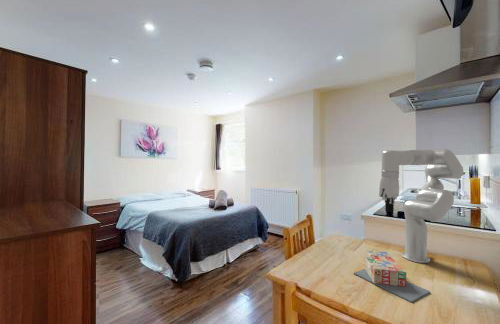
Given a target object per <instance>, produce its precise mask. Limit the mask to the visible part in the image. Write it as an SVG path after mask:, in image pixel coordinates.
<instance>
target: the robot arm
mask: <svg viewBox="0 0 500 324" xmlns="http://www.w3.org/2000/svg"><path fill="white" fill-rule="evenodd" d="M400 166H425V168H424V169H425V170H424V174H425V183H424V185H423V186H422V187H421V188H420V189H419V190H418V192H417V193H416V197H415V199H408V200H406V201H405V202H404V204H403V212H404V217H405V218H404V219H405V228H404V229H405V233H404V234H405V236H404V238H405V240H404V251H403V252H401V257H403V258H404V259H405V260H407V261H411V262H414V263H419V264H428V263H430V262H431V258H430V257H429V256H428V253H429V252H430V251H429V249H428V225H427V224H426V221H428V222H429V221H430V222H441V221H442V220H443V219H444V218H445V216H446V215H447V214H448V212H449V211H450V210H451V208H452V207H453V205H454V202H455V196H454V194H453V193H452V191H450V190H448V189H445V186H444V184H443V183H442V181H441V180H440V179H455V180H456V179H460V178H462V177H463V175H464V167H463V165H462V163H461V162H460V161H459V159H458V157H457V156H456V155H455V153H454V152H453V151H451V150H450V149H447V148H445V149H444V148H441V149H439V148H438V149H435V148H434V149H409V150H395V149H393V150H387V149H386V150H383V151H382V152H381V176H380V182H379V188H378V189H379V191H378V197H380V198H382V199H381V200H382V201H384V204H385V205H384V206H385V208H384V209H385V212H388V213H389V212H390V213H393V212H395V211H394V210H395V209H394V207H395V206H394V205H395V200H397V198H398V197H399V196H400V182H399V181H400V180H399V178H400ZM425 220H426V221H425Z"/></svg>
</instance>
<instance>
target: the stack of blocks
mask: <svg viewBox="0 0 500 324" xmlns="http://www.w3.org/2000/svg"><path fill="white" fill-rule="evenodd" d="M364 260H365V261H364V262H365V267H364V269H365V270H366V272H367V273H368V275H369V276H370V278H371V279H372V281H373V282H374V283H378V284H385V285H395V286H403V287H406V281H407V272H406V270H405V269H404V268H403V267H402V266H401V265H400V264H399V263H398V262H396V260H395V259H394V258H392V256H391V255H390V254H389V253H388V252H387V251H377V250H373V251H372V250H366V256H365V259H364Z"/></svg>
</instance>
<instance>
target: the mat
mask: <svg viewBox="0 0 500 324" xmlns="http://www.w3.org/2000/svg"><path fill="white" fill-rule="evenodd" d="M353 275H355V276H356V277H358V278H361V279H363V280H365V281H367V282H369V283H371V284H373V285H374V286H376V287H379V288H381V289H382V290H385V291H386V292H389V293H391V294H393V295H395V296H397V297H399V298H401V299H403V300H405V301H407V302H409V303H411V304H412V303H414V302H416V301H418V300H419V299H421V298H423V297H425V296H427V295H429V294H430V293H431V291H430V290H427V288H426V289H425V288H423V287H421V286H418V285H416V284H414V283H413V282H412V283H411V282H410V281H407V280H406V287H403V286H395V285H385V284H378V283H374V282H373V281H372V279H371V278H370V276H369V275H368V273H367V272H366V270H365V268H364V269H363V268H362V269H361V270H358V271H355V272H353Z"/></svg>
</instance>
